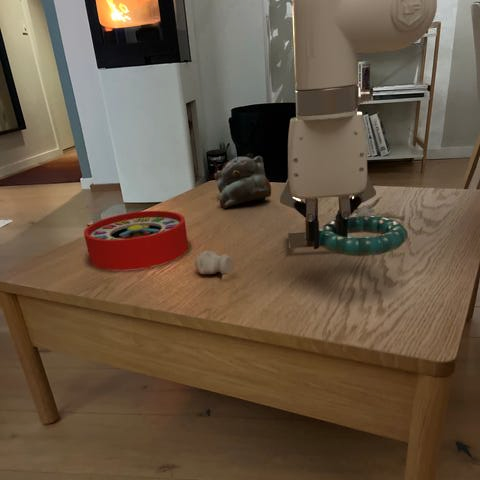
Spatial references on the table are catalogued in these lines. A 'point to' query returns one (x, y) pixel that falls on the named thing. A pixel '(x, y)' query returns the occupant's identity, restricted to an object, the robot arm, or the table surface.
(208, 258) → the pale two-lobed sculpture
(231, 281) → the table surface
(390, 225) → the bracelet
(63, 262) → the table surface
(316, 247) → the robot arm
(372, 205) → the soldier figure
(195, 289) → the table surface
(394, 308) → the table surface
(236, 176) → the grey stacked animal sculpture
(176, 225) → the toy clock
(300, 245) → the stand
